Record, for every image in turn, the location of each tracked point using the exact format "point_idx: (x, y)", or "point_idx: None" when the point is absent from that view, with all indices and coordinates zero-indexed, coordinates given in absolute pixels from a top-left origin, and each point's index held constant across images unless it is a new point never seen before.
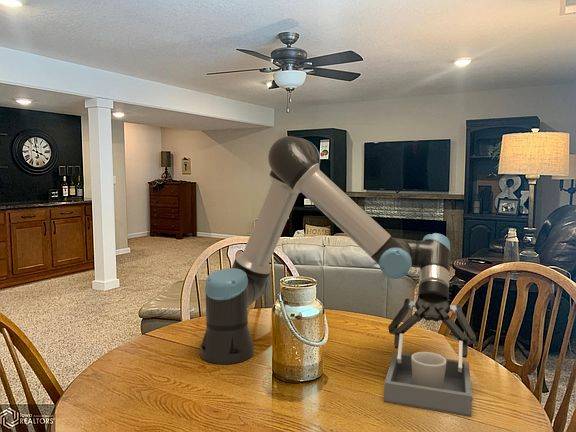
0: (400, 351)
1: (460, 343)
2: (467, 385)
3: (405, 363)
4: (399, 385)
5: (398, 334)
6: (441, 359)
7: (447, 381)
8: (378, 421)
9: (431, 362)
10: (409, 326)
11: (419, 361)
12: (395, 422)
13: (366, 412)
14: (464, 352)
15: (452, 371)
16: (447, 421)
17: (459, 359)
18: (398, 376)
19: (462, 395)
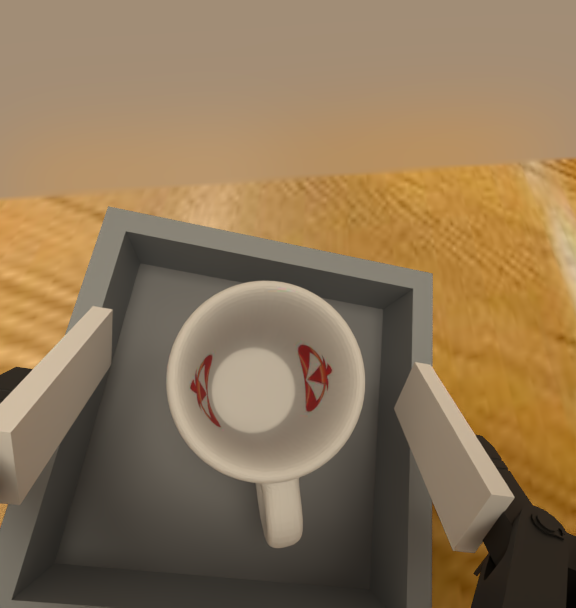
0: (434, 390)
1: (14, 409)
2: (95, 296)
3: (347, 601)
4: (378, 262)
5: (514, 512)
6: (190, 406)
7: (147, 507)
8: (400, 195)
9: (240, 444)
10: None
11: (306, 434)
12: (358, 194)
13: (435, 233)
14: (19, 382)
15: (101, 578)
16: (212, 212)
17: (87, 333)
18: (363, 503)
19: (145, 216)
